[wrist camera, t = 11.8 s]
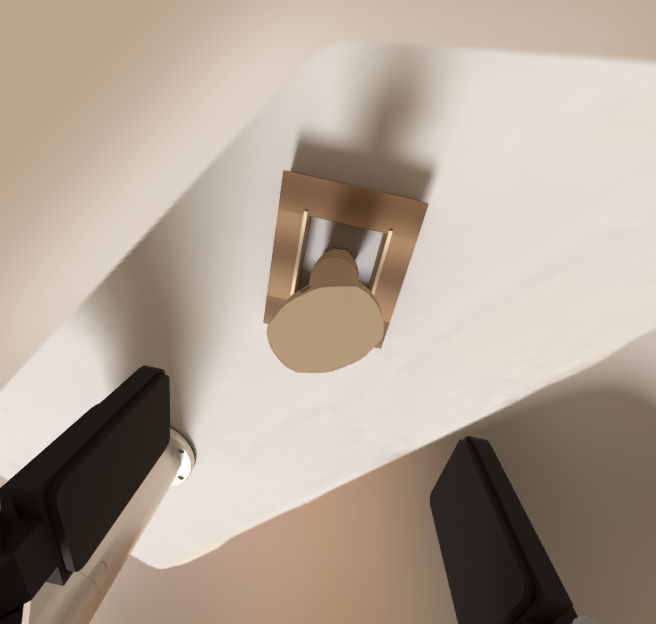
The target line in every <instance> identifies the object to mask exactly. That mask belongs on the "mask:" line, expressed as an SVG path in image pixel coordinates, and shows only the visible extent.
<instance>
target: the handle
mask: <svg viewBox="0 0 656 624" xmlns="http://www.w3.org/2000/svg"><path fill="white" fill-rule="evenodd" d="M383 333H384V322H383V317H382V312H381V309H380V307H379V304H378V302H377V300H376V298H375V297H374V295H373V294H372V292H371V291H370V290H369V289H368V288H367V287H366V286H364V285H363V284H362V283H360V282H359V272H358V268H357V264H356V262H355V260H354V258H353V257H352V256H351V255H350V251H349V250H347V249H335V248H334V247H333V248H330V249H328V250H327V251H326V253H325V254H323V255H322V256H321V257H320V259H319V260H318V261H317V263H316V264H315V266H314V268H313V270H312V273H311V277H310V281H309V285H308V286H306V287H304V288H303V289H301V290H299V291H298V292H296V293H294V294H293V295H291V296H290V297H289V298H288V300H287V301H286V302H285V303H284V304H283V305H282V307H281V308H280V309H279V310H278V312H277V313H276V314H275V316H274V317H273V319H272V320H271V322H270V323H269V325H268V327H267V336H268V341H269V344H270V347H271V348H272V350H273V352H274V354H275V355H276V356H277V358H278V359H279V360H280V361H281V362H282V363H283V364H284V365H285V366H286V367H288V368H289V369H291V370H293V371H295V372H302V373H324V372H330V371H334V370H337V369H340V368H342V367H345V366H347V365H350V364H353V363H355V362H357V361H359V360H360V359H362V358H363V357H364V356H365V355H367V354H368V353H369V352H370V351H371V350H372V349H373V348H374V347H375V346H376V345H377V344H378V342H379V341H380V340H381V339H382V338H383Z"/></svg>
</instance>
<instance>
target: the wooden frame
mask: <svg viewBox="0 0 656 624" xmlns="http://www.w3.org/2000/svg"><path fill="white" fill-rule="evenodd" d="M427 207H428V203H425V202H422V201H419V200H414V199H410V198H406V197H401V196H397V195H393V194H388V193H384V192H379V191H375V190H371V189H366V188H362V187H358V186H353V185H349V184H345V183H340V182H336V181H331V180H327V179H323V178H318V177H314V176H310V175H305V174H301V173H297V172H292V171H285V170H284V171H283V178H282V186H281V193H280V201H279V209H278V216H277V224H276V231H275V239H274V246H273V254H272V261H271V269H270V277H269V284H268V292H267V299H266V307H265V314H264V322H263V323H267V324H269V323H270V322H271V320H272V319H273V317H274V316H275V314H276V313H277V312H278V310H279V309H280V308H281V307H282V305H283V304H284V303H285V302H286V301H287V300H288V298H289V297H290V296H291V295H293V294H294V293H296V292H298V291H299V290H298V287H299V281H300V276H301V270H302V265H303V259H304V253H305V248H306V242H307V236H308V231H309V225H310V219H311V216H312V217H316V218H321V219H325V220H330V221H334V222H338V223H343V224H347V225H352V226H356V227H360V228H365V229H369V230H374V231H378V232H382V233H383V236H382V240H381V243H380V247H379V250H378V254H377V257H376V261H375V265H374V268H373V272H372V275H371V279H370V282H369V286H368V289H369V290H370V291H371V292H372V294H373V295H374V297H375V298H376V300H377V302H378V304H379V307H380V309H381V312H382V317H383V322H384V333H383V338H382V339H381V340H380V341H379V342H378V344H377V345H376V346H375V348H380V349H381V347H382V344H383V341H384V338H385V335H386V332H387V329H388V326H389V323H390V320H391V317H392V313H393V310H394V307H395V304H396V301H397V298H398V295H399V292H400V289H401V286H402V283H403V280H404V277H405V274H406V271H407V268H408V265H409V262H410V259H411V256H412V253H413V250H414V247H415V244H416V241H417V238H418V235H419V232H420V229H421V226H422V223H423V220H424V217H425V213H426V210H427Z"/></svg>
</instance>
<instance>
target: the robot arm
mask: <svg viewBox="0 0 656 624" xmlns="http://www.w3.org/2000/svg"><path fill="white" fill-rule="evenodd" d="M194 462H195V458H194V454H193V451H192V449H191V447H190V445H189V444H188V443H187V441H186V440H185V439H184V438H183V437H182V436H181V435H180V434H179V433H177V432H176V431H175V430H173V429H172V428H170V389H169V376H167V375H165V372H164V370H162V369H158V368H154V367H149V366H142V367H140V368H139V369H138V370H137V371H136V372H135V373H133V374H132V375H131V376H130V377H129V378H128V379H127V380H126V381H124V382H123V383H122V384H121V385H120V386H119V387H118V388H117V389H115V390H114V391H113V392H112V393H111V394H110V395H109V396H108V397H106V398H105V399H104V400H103V401H102V402H101V403H100V404H97V405H95V406H94V407H92V408H91V409H90V410H89V411H87V412H86V413H85V414H84V415H83V416H82V417H81V418H79V419H78V420H77V421H76V422H75V423H74V424H73V425H71V426H70V427H69V428H68V429H67V430H66V431H65V432H63V433H62V434H61V435H60V436H59V437H58V438H57V439H56V440H54V441H53V442H52V443H51V444H50V445H49V446H48V447H46V448H45V449H44V450H43V451H42V452H41V453H40V454H38V455H37V456H36V457H35V458H34V459H33V460H32V461H30V462H29V463H28V464H27V465H26V466H25V467H24V468H23V469H21V470H20V471H19V472H18V473H17V474H16V475H15V476H13V477H12V478H11V479H10V480H9V481H8V482H7V483H6V484H4V485H3V486H2V487H1V488H0V624H89V622H90V621H91V619H92V618H93V616H94V614H95V612H96V611H97V609H98V607H99V606H100V604H101V602H102V600H103V599H104V597H105V595H106V594H107V592H108V590H109V588H110V587H111V585H112V583H113V582H114V580H115V578H116V577H117V575H118V573H119V572H120V570H121V568H122V566H123V565H124V563H125V561H126V560H127V558H128V556H129V555H130V553H131V551H132V550H133V548H134V546H135V545H136V543H137V541H138V540H139V538H140V536H141V535H142V533H143V531H144V529H145V528H146V526H147V524H148V523H149V521H150V519H151V518H152V516H153V514H154V513H155V511H156V509H157V508H158V506H159V504H160V503H161V501H162V499H163V497H164V496H165V494H166V492H167V491H168V489H169V487H173V486H176V485H179V484H181V483H182V482H184V481H185V480H186V479H187V478H188V477H189V475H190V474H191V472H192V470H193V467H194ZM430 506H431V510H432V515H433V518H434V523H435V527H436V531H437V536H438V540H439V544H440V549H441V553H442V557H443V561H444V566H445V570H446V574H447V578H448V582H449V587H450V591H451V595H452V600H453V604H454V608H455V612H456V617H457V621H458V624H603V623H601V622H599V621H597V620H595V619H593V618H591V617H585V616H579V617H577V614H576V612H575V610H574V608H573V607H572V606H573V604H572V602H571V600H570V598H569V596H568V594H567V592H566V590H565V589H564V586H563V584H562V582H561V580H560V578H559V576H558V574H557V573H556V571H555V569H554V567H553V565H552V563H551V561H550V559H549V557H548V555H547V553H546V551H545V549H544V547H543V545H542V543H541V541H540V540H539V538H538V536H537V534H536V532H535V530H534V528H533V526H532V524H531V522H530V520H529V519H528V516H527V514H526V512H525V510H524V508H523V507H522V505H521V503H520V501H519V499H518V497H517V495H516V493H515V491H514V489H513V487H512V485H511V483H510V481H509V479H508V477H507V475H506V474H505V472H504V470H503V468H502V466H501V464H500V462H499V460H498V458H497V456H496V454H495V452H494V450H493V448H492V446H491V445H490V443H489V442H488V441H487V440H484V439H479V438H475V437H471V436H467V437H465V439H464V440H460V441H459V442H458V444H457V446H456V448H455V449H454V451H453V453H452V455H451V457H450V459H449V461H448V462H447V464H446V466H445V468H444V470H443V472H442V474H441V475H440V477H439V479H438V481H437V483H436V485H435V487H434V488H433V490H432V492H431V496H430Z"/></svg>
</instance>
